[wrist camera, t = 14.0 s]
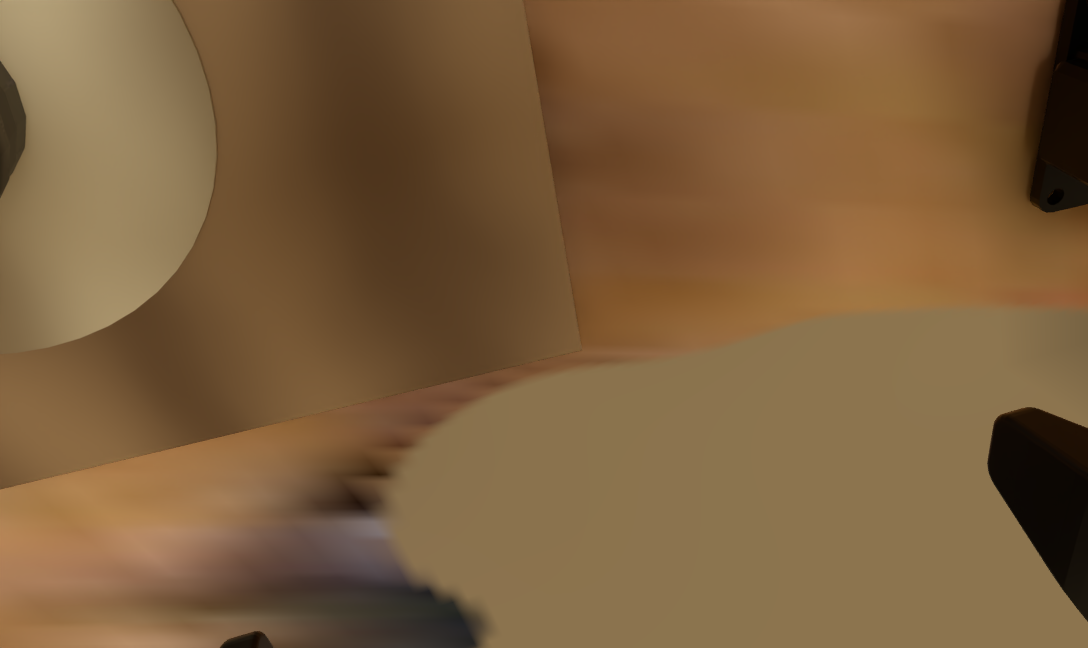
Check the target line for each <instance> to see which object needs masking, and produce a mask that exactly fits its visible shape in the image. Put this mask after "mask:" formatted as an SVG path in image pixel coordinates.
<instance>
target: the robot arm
mask: <svg viewBox="0 0 1088 648" xmlns="http://www.w3.org/2000/svg"><path fill="white" fill-rule="evenodd" d="M1053 190H1054V192H1053V194H1052V195H1051V196H1050V197H1048V196H1049V194H1050V193H1051V192H1052V191H1053ZM1030 201H1031V203H1032V204H1033V205H1034V206H1036V207H1037V208H1039V209H1040V210H1042V211H1044V212H1046V213H1048V212H1056V211H1060V210H1064V209H1068V208H1073V207H1077V206H1081V205H1085V204H1088V3H1087V0H1066V5H1065V10H1064V15H1063V21H1062V26H1061V31H1060V37H1059V42H1058V48H1057V53H1056V58H1055V64H1054V69H1053V75H1052V80H1051V85H1050V91H1049V96H1048V101H1047V107H1046V112H1045V118H1044V123H1043V128H1042V134H1041V139H1040V145H1039V150H1038V155H1037V161H1036V166H1035V171H1034V177H1033V182H1032V188H1031V193H1030ZM987 464H988V471H989V475H990V477H991V480H992V481H993V483H994V485H995V487H996V488H997V490H998V491H999V493H1000V494H1001V496H1002V497H1003V499H1004V501H1005V502H1006V504H1007V505H1008V507H1009V508H1010V510H1011V511H1012V513H1013V514H1014V516H1015V518H1016V519H1017V521H1018V522H1019V524H1020V525H1021V527H1022V528H1023V530H1024V532H1025V533H1026V534H1027V536H1028V538H1029V539H1030V541H1031V542H1032V544H1033V546H1034V547H1035V548H1036V550H1037V552H1038V553H1039V555H1040V556H1041V558H1042V559H1043V561H1044V562H1045V564H1046V566H1047V567H1048V569H1049V570H1050V572H1051V573H1052V574H1053V576H1054V578H1055V579H1056V581H1057V582H1058V583H1059V585H1060V586H1061V588H1062V589H1063V591H1064V592H1065V593H1066V595H1067V596H1068V597H1069V598H1070V600H1071V601H1072V602H1073V604H1074V605H1075V606H1076V608H1077V609H1078V610H1079V611H1080V613H1081V614H1082V615H1083V616H1084V618H1085V619H1086V620H1087V621H1088V428H1086V427H1084V426H1081V425H1078V424H1076V423H1073V422H1071V421H1068V420H1065V419H1063V418H1061V417H1058V416H1055V415H1053V414H1050V413H1048V412H1045V411H1043V410H1040V409H1036V408H1032V407H1026V408H1021V409H1018V410H1014V411H1011V412H1008V413H1004V414H1001V415H1000V416H998V417H997V419H996V420H995V422H994V426H993V431H992V438H991V443H990V449H989V455H988V463H987ZM220 648H273V646H272V644H271V643H270V641H269V639H268V638H267V637H266V635H265V634H264V633H262V632H260V631H254V632H251V633H248V634H244V635H241V636H237V637H234V638H231V639H228V640H227V641H225V642H224V643H223V644H222V646H221V647H220Z"/></svg>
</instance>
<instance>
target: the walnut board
mask: <svg viewBox="0 0 1088 648" xmlns="http://www.w3.org/2000/svg"><path fill="white" fill-rule="evenodd" d="M0 61H1V62H2V64H3V65H4V67H5V68H6V70H7V71H8V73H9V74H10V76H11V77H12V79H13V80H14V81H15V83H16V86H17V89H18V92H19V95H20V98H21V102H22V105H23V108H24V111H25V114H26V137H25V149H24V151H23V153H22V155H21V157H20V159H19V161H18V163H17V165H16V167H15V170H14V172H13V174H12V175H11V176H10V177H9V181H8V183H7V185H6V187H5V189H4V192H3V194H2V196H1V198H0V489H4V488H8V487H12V486H16V485H21V484H25V483H29V482H33V481H37V480H42V479H46V478H50V477H54V476H58V475H63V474H67V473H71V472H75V471H79V470H83V469H88V468H92V467H96V466H100V465H104V464H109V463H113V462H117V461H121V460H125V459H129V458H134V457H138V456H142V455H146V454H150V453H155V452H159V451H163V450H167V449H171V448H175V447H180V446H184V445H188V444H192V443H196V442H201V441H205V440H209V439H213V438H217V437H221V436H226V435H230V434H234V433H238V432H242V431H247V430H251V429H255V428H259V427H263V426H268V425H272V424H276V423H280V422H284V421H288V420H293V419H297V418H301V417H305V416H309V415H314V414H318V413H322V412H326V411H330V410H334V409H339V408H343V407H347V406H351V405H355V404H360V403H364V402H368V401H372V400H376V399H380V398H385V397H389V396H393V395H397V394H401V393H406V392H410V391H414V390H418V389H422V388H427V387H431V386H435V385H439V384H443V383H447V382H452V381H456V380H460V379H464V378H468V377H473V376H477V375H481V374H485V373H489V372H493V371H498V370H502V369H506V368H510V367H514V366H519V365H523V364H527V363H531V362H535V361H539V360H544V359H548V358H552V357H556V356H560V355H565V354H569V353H573V352H577V351H581V350H582V346H581V340H580V335H579V329H578V323H577V317H576V311H575V305H574V299H573V293H572V287H571V281H570V275H569V269H568V263H567V257H566V251H565V245H564V239H563V233H562V227H561V222H560V216H559V210H558V204H557V198H556V192H555V186H554V180H553V174H552V168H551V162H550V156H549V150H548V144H547V138H546V132H545V126H544V120H543V114H542V108H541V103H540V97H539V91H538V85H537V79H536V73H535V67H534V61H533V55H532V49H531V43H530V37H529V31H528V25H527V19H526V13H525V7H524V1H523V0H0Z"/></svg>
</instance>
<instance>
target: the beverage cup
mask: <svg viewBox="0 0 1088 648" xmlns="http://www.w3.org/2000/svg"><path fill="white" fill-rule="evenodd" d="M25 137H26V114H25V111H24V108H23V105H22V102H21V98H20V95H19V92H18V89H17V86H16V83H15V81H14V80H13V79H12V77H11V76H10V74H9V73H8V71H7V70H6V68H5V67H4V65H3V64H2V62H1V61H0V198H1V196H2V194H3V192H4V189H5V187H6V185H7V183H8V181H9V177H10V176H11V175H12V174H13V172H14V170H15V167H16V165H17V163H18V161H19V159H20V157H21V155H22V153H23V151H24V149H25Z"/></svg>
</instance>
